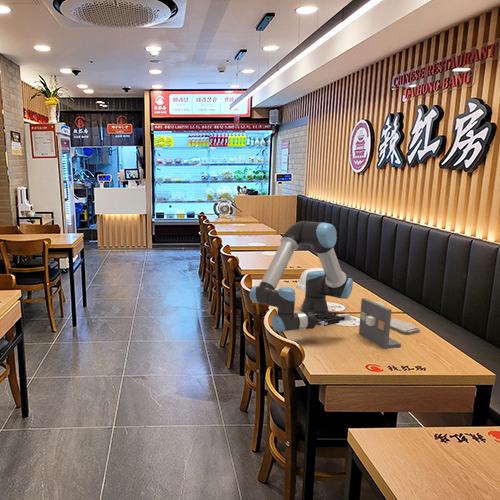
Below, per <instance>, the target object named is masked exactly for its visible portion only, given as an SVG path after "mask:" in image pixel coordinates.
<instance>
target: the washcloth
mask: <svg viewBox="0 0 500 500" xmlns="http://www.w3.org/2000/svg"><path fill="white" fill-rule="evenodd" d="M390 331H394V332H397V333H399V334H402V335H403V336H407V335H413V334H417V333H420V332H421V329H420V327H418V326H415V325H414V324H413V323H410V322H406V321H404V320H400V319H398V318H391V321H390Z"/></svg>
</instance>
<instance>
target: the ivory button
mask: <svg viewBox="0 0 500 500" xmlns="http://www.w3.org/2000/svg"><path fill="white" fill-rule="evenodd" d="M375 322H376V317H374V316H366V324H367V325H369V326H375Z"/></svg>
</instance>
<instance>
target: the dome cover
mask: <svg viewBox="0 0 500 500" xmlns="http://www.w3.org/2000/svg"><path fill="white" fill-rule="evenodd" d="M312 271H324V270H323V267H311V268H307V269H305V270H303V271H302V273H301V275H300V277H299V281H298V282H297V284H296V289H297V288H298V289H297V290H299V289H300V290H299V291H301V290H302V291H301V292H304V291H305V290H306V276H307V273H308V272H312Z"/></svg>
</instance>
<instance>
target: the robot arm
mask: <svg viewBox="0 0 500 500" xmlns="http://www.w3.org/2000/svg"><path fill="white" fill-rule="evenodd" d="M337 235H338V234H337V230H336V227H335V226H334V225H333V224H331V223H327V222H317V221H307V220H301V221H298V222H296V223H295V222H294V224H292V225H291V226H289V227H288V228H287V230H286V231H285V232H284V233H283V234H282V236H281V239H280V245H279V246H278V248H277V250H276V251H275V254H274V255H273V258H272V260H271V262H270V264H269V266H268V268H267V269H266V271H265V273H264V275H263V277H262V279H261V281H260V282H259V285H253V287H251V289H250V290H249V295H248V296H249V299H250V301H251V302H254V303H256V304H259V305H260V304H261V305H265V306H270V307H274V308H277V310H276V311H277V312H276V313H277V314H276V313H275V314H274V315H272V317H271V319H270V321H271V320H272V324H271V327H273V328H272V330H274V331H275V332H291V331H300V330H309V329H310V330H311V329H314V328H315V327H316V326H321V325H323V326H324V327H327V326H330V325H331V326H332V325H336V324H339V323H340V322H344V321H345V322H346V321H350V319H351V314H350V313H342V314H337V313H336V312H334V313H332V312H331V313H328V312H329V308H328V307H329V306H328V303H327V299H326V298H327V296H328V297H333V298H337V299H344V300H347V299H348V298H349V297H350V296H351V293H352V290H353V285H354V280H353V279H352V278H350V277H348V276H347V274H346V273H345V272H344V271H343V270H342V268H341V265H340V264H339V263H340V262H339V260H338V258H337V254H336V252H335V245H336V244H337V239H338V236H337ZM301 245H303V246H310V249H311V250H312V251H313V253H315V254H316V255H317V257H318V259H319V262H320V265H321V268H323V270H324V271H312V272H308V273H307V276H306V290H305V292H304V293H305V294H304V298H303V301H302V304H301V307H300V308H301V309H300V311H301V312H296V313H295V305H296V290H295V289H294V288H293V287H291V286H290V287H289V286H281V287H279V288H278V290H277V289H276V288H277V286H278V284H279V282H280V280H281V278H282V276H283V275H284V272H285V270H286V268H287V266H288V264H289V263H290V260H291V259H292V256H293V255H294V252H295V251H297V250H298V249H299V247H300V246H301Z"/></svg>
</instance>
